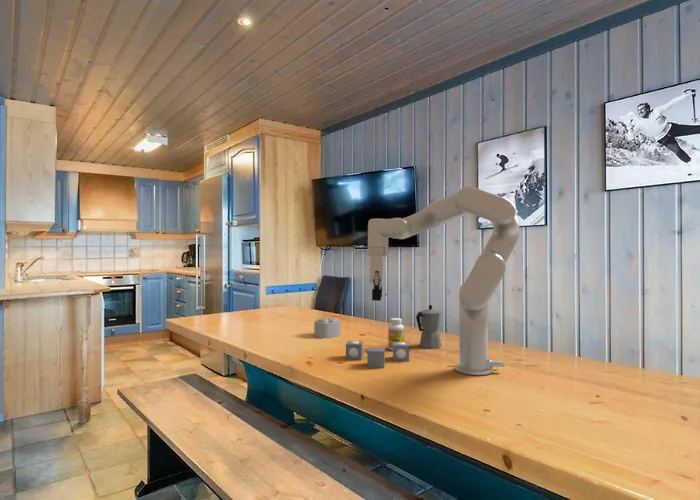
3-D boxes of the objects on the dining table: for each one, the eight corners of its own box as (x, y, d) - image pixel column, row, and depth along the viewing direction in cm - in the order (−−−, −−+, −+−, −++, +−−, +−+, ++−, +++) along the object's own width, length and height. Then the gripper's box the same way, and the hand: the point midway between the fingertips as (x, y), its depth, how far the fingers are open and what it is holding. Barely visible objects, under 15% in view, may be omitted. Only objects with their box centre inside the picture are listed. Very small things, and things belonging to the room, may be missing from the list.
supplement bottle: (385, 350, 180) (385, 319, 179) (391, 346, 185) (391, 317, 185) (400, 351, 176) (400, 320, 176) (406, 348, 182) (406, 318, 182)
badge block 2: (408, 357, 167) (408, 341, 167) (409, 361, 161) (409, 345, 161) (393, 357, 168) (393, 341, 168) (393, 361, 162) (393, 345, 162)
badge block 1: (362, 356, 169) (362, 340, 169) (361, 360, 163) (361, 344, 163) (347, 355, 170) (347, 340, 170) (345, 360, 164) (345, 344, 164)
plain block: (384, 363, 158) (384, 347, 158) (384, 368, 153) (384, 351, 153) (368, 363, 159) (368, 347, 159) (367, 367, 153) (367, 351, 153)
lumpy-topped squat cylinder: (311, 335, 209) (311, 318, 209) (332, 332, 218) (332, 315, 218) (324, 339, 201) (324, 320, 201) (345, 335, 210) (345, 318, 210)
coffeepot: (431, 342, 194) (431, 302, 194) (448, 346, 186) (448, 304, 186) (408, 347, 184) (408, 305, 184) (425, 351, 177) (425, 308, 177)
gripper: (369, 251, 166) (368, 295, 167) (366, 252, 149) (365, 301, 149) (388, 252, 166) (387, 296, 166) (387, 252, 148) (386, 302, 149)
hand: (377, 298), depth 158 cm, fingers open, 9 cm apart
